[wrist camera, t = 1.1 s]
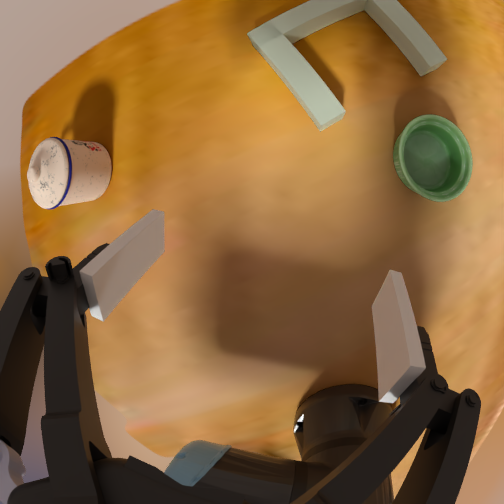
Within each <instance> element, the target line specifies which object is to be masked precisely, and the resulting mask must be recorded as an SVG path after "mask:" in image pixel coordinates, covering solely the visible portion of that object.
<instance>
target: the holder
mask: <svg viewBox="0 0 504 504" xmlns="http://www.w3.org/2000/svg"><path fill="white" fill-rule="evenodd" d="M363 10H365V11H366V12H367V13H368V15H369V16H370V17H371V18H372V19H373V20H374V21H375V22H376V23H377V24H378V25H379V26H380V27H381V28H382V29H383V30H384V32H385V33H386V34H387V35H388V36H389V37H390V38H391V40H392V41H393V42H394V43H395V44H396V45H397V47H398V48H399V49H400V50H401V51H402V53H403V54H404V55H405V57H406V58H407V59H408V60H409V62H410V63H411V64H412V66H413V67H414V68H415V70H416V71H417V72H418V74H419V75H420V76H423V75H425V74H427V73H429V72H432V71H434V70H436V69H437V68H438V67H440V66H441V65H442V64H443V63H444V62H445V61H446V60H447V58H446V57H445V55H444V54H443V53H442V51H441V50H440V49H439V48H438V46H437V45H436V44H435V42H434V41H433V40H432V39H431V37H430V36H429V35H428V34H427V33H426V31H425V30H424V29H423V28H422V27H421V26H420V24H419V23H418V22H417V21H416V20H415V19H414V18H413V17H412V16H411V15H410V13H409V12H408V11H407V10H406V9H405V8H404V7H403V6H402V5H401V4H400V3H399V2H398V1H397V0H310V1H308V2H305V3H303V4H301V5H299V6H297V7H295V8H293V9H291V10H289V11H287V12H285V13H283V14H281V15H279V16H277V17H275V18H273V19H271V20H269V21H267V22H266V23H264V24H262V25H260V26H259V27H257V28H255V29H253V30H252V31H250V32H248V33H247V35H248V37H249V39H250V41H251V43H252V45H253V46H254V47H255V49H256V50H257V51H258V52H259V53H260V54H261V55H262V57H263V58H264V59H265V60H266V61H267V62H268V64H269V65H270V66H271V67H272V68H273V70H274V71H275V72H276V73H277V75H278V76H279V77H280V78H281V79H282V81H283V82H284V83H285V85H286V86H287V87H288V88H289V90H290V91H291V92H292V94H293V95H294V96H295V97H296V99H297V100H298V101H299V103H300V104H301V105H302V107H303V108H304V110H305V111H306V112H307V114H308V115H309V116H310V118H311V119H312V121H313V122H314V123H315V125H316V126H317V128H318V129H319V131H320V132H321V131H322V130H324V129H326V128H327V127H329V126H331V125H332V124H334V123H336V122H338V121H339V120H341V119H343V116H344V114H345V112H346V111H345V109H344V108H343V107H342V105H341V104H340V103H339V101H338V100H337V98H336V97H335V96H334V94H333V93H332V92H331V90H330V89H329V88H328V87H327V85H326V84H325V83H324V81H323V80H322V79H321V78H320V76H319V75H318V74H317V73H316V71H315V70H314V69H313V68H312V67H311V65H310V64H309V63H308V62H307V61H306V59H305V58H304V57H303V56H302V55H301V54H300V53H299V51H298V50H297V49H296V48H295V47H294V46H293V45H292V44H293V43H295V42H297V41H298V40H300V39H302V38H304V37H306V36H308V35H310V34H312V33H314V32H316V31H318V30H320V29H322V28H324V27H326V26H328V25H331V24H333V23H335V22H337V21H339V20H342V19H344V18H346V17H349V16H351V15H353V14H356V13H358V12H361V11H363Z"/></svg>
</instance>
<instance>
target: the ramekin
mask: <svg viewBox="0 0 504 504" xmlns="http://www.w3.org/2000/svg"><path fill="white" fill-rule="evenodd" d="M393 160H394V165H395V169H396V172H397V174H398V176H399V178H400V179H401V181H402V182H403V183H404V184H405V185H406V186H407V187H408V188H409V189H410V190H412V191H414V192H416V193H418V194H419V195H421V196H423V197H425V198H427V199H429V200H432V201H437V202H445V201H449V200H452V199H454V198H456V197H457V196H459V195H460V194H461V193H462V192H463V191H464V189H465V188H466V186H467V184H468V182H469V180H470V177H471V173H472V154H471V150H470V147H469V144H468V142H467V140H466V138H465V136H464V135H463V133H462V132H461V130H460V129H459V128H458V127H457V126H456V125H455V124H454V123H452V122H451V121H449V120H448V119H446V118H444V117H441V116H438V115H432V114H428V115H422V116H419V117H416V118H415V119H413V120H412V121H410V122H409V123H408V124H407V126H406V127H405V128H404V130H403V132H402V133H401V134H400V135H399V137H398V138H397V140H396V143H395V146H394V151H393Z"/></svg>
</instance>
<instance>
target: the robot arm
mask: <svg viewBox="0 0 504 504" xmlns="http://www.w3.org/2000/svg"><path fill="white" fill-rule="evenodd" d="M164 251H165V250H164V212H163V211H158V210H154V209H153V210H152V211H150V212H149V213H148V214H146V215H145V216H144V217H143V218H141V219H140V220H139V221H138V222H136V223H135V224H134V225H133V226H131V227H130V228H129V229H128V230H126V231H125V232H124V233H123V234H122V235H120V236H119V237H118V238H117V239H116V240H114V241H113V242H112V243H111V244H107V243H106V244H104V245H101V246H99V247H97V248H96V249H95V250H94V251H93V252H92V253H90V254H89V255H88V256H87V258H85V259H83V260H82V261H81V262H80V263H79V264H78V265H77V266H75V267H74V268H73V269H72V265H71V261H70V259H69V258H68V257H65V256H58V257H55V258H53V259H51V260H49V261H48V262H47V264H46V266H45V267H46V271H47V274H48V277H43V276H41V274H40V271H39V269H38V268H36V267H30V268H26V269H25V270H23V271H22V272H21V273H20V274H19V276H18V278H17V279H16V281H15V283H14V285H13V287H12V289H11V291H10V293H9V295H8V297H7V299H6V301H5V303H4V305H3V307H2V309H1V311H0V501H1V502H2V503H3V504H455V502H456V499H457V496H458V494H459V491H460V488H461V485H462V482H463V479H464V476H465V473H466V470H467V466H468V463H469V459H470V456H471V452H472V448H473V444H474V439H475V435H476V430H477V425H478V420H479V414H480V408H481V400H480V397H479V396H478V394H477V393H476V392H475V391H474V390H472V389H465V390H464V391H463V392H462V393H460V394H459V393H457V392H455V391H452V390H450V389H448V384H447V382H446V380H445V379H444V378H443V377H442V376H441V375H439V374H438V372H437V368H436V363H435V359H434V354H433V352H432V346H431V342H430V338H429V335H428V334H427V332H426V330H425V329H424V327H419V326H417V325H416V321H415V317H414V314H413V310H412V306H411V303H410V299H409V296H408V292H407V289H406V286H405V282H404V279H403V276H402V273H401V272H397V271H394V270H389V272H388V274H387V276H386V278H385V280H384V283H383V285H382V287H381V289H380V291H379V293H378V295H377V297H376V299H375V300H374V302H373V304H372V315H373V323H374V333H375V344H376V356H377V372H378V390H377V389H374V388H372V387H369V386H364V385H340V386H335V387H331V388H327V389H325V390H322V391H320V392H318V393H316V394H314V395H312V396H311V397H309V398H308V399H307V400H305V401H304V402H303V403H302V405H301V406H300V407H299V409H298V410H297V412H296V415H295V421H294V436H295V439H296V442H297V446H298V449H299V452H300V455H301V458H302V461H296V460H291V459H284V458H278V457H273V456H267V455H262V454H257V453H253V452H248V451H244V450H240V449H236V448H232V446H230V445H226V446H224V445H220V444H216V443H211V442H207V441H203V440H196V441H193V442H190V443H188V444H187V445H186V446H184V447H183V448H182V449H181V450H180V451H179V452H178V453H177V455H176V456H175V457H174V459H173V460H172V461H171V463H170V464H169V466H168V467H167V469H166V470H165V472H164V473H163V472H162V471H160V470H159V469H158V468H156V467H154V466H152V465H150V464H147V463H145V462H143V461H141V460H139V459H136V458H134V457H132V456H129V458H128V459H123V458H112V456H111V453H110V450H109V447H108V445H107V443H106V441H105V438H104V435H103V431H102V427H101V422H100V418H99V413H98V408H97V403H96V397H95V391H94V385H93V379H92V372H91V364H90V356H89V346H88V335H87V322H86V315H85V311H86V310H87V309H88V308H89V309H90V312H91V315H92V316H93V317H95V318H97V319H99V320H101V321H104V320H105V319H106V318H107V317H108V315H109V314H110V313H111V312H112V311H113V309H114V308H115V307H116V306H117V305H118V303H119V302H120V301H121V300H122V299H123V298H124V296H125V295H126V294H127V293H128V292H129V291H130V289H131V288H132V287H133V286H134V285H135V284H136V283H137V281H138V280H139V279H140V278H141V277H142V276H143V275H144V274H145V272H146V271H147V270H148V269H149V268H150V267H151V266H152V265H153V263H154V262H155V261H156V260H157V259H158V258H159V257H160V256H161V255H162V254H163V253H164ZM43 346H44V385H45V402H46V414H45V415H44V416H42V418H41V430H42V438H43V445H44V452H45V458H46V463H47V469H48V473H49V477H47V478H43V479H40V480H36V481H32V482H29V483H24V482H23V479H22V476H23V475H25V472H26V469H25V466H24V465H23V463H22V460H21V457H20V456H21V453H22V449H23V445H24V439H25V434H26V426H27V420H28V413H29V407H30V402H31V396H32V391H33V386H34V381H35V377H36V373H37V368H38V365H39V361H40V357H41V353H42V350H43ZM399 397H400V405H398V406H397V407H396V408H395V409H394V410H393V411H392V408H391V404H390V403H394V402H395V401H396V400H397V399H398V398H399ZM425 428H427V429H426V432H425V434H424V437H423V439H422V442H421V444H420V447H419V449H418V452H417V454H416V456H415V459H414V461H413V463H412V465H411V468H410V470H409V472H408V474H407V476H406V478H405V480H404V482H403V484H402V486H401V488H400V490H399V492H398V494H397V496H396V497H395V499H394V495H393V487H392V479H391V472H392V471H393V470H394V469H395V468H396V466H397V465H398V464H399V463H400V461H401V460H402V459H403V458H404V457H405V455H406V454H407V453H408V451H409V450H410V449H411V448H412V446H413V445H414V444H415V442H416V441H417V440H418V438H419V437H420V435H421V434H422V433H423V431H424V430H425Z"/></svg>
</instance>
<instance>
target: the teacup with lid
mask: <svg viewBox="0 0 504 504" xmlns="http://www.w3.org/2000/svg"><path fill="white" fill-rule="evenodd" d="M111 171H112V166H111V159H110V156H109V153H108V152H107V150H106V149H105V147H104V146H102V145H101V144H99V143H97V142H89V141H77V140H64V139H60V138H58V137H50V138H48V139H45V140H44V141H42V142H41V143H40V144H39V145H38V146H37V148H36V149H35V151H34V153H33V155H32V158H31V161H30V165H29V169H28V172H27V178H28V181H29V188H30V192H31V195H32V197H33V199H34V200H35V202H36V203H37V204H38V205H39V206H41V207H42V208H45V209H54V208H56V207H58V206H61V205H67V204H73V203H80V202H86V201H92V200H95V199H97V198H99V197H100V196H101V195H102V194H103V193H104V192H105V190H106V189H107V187H108V184H109V182H110V178H111Z"/></svg>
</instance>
